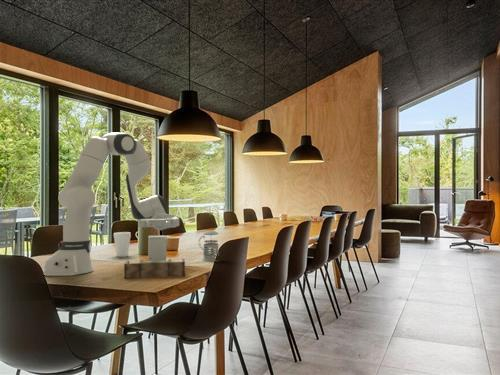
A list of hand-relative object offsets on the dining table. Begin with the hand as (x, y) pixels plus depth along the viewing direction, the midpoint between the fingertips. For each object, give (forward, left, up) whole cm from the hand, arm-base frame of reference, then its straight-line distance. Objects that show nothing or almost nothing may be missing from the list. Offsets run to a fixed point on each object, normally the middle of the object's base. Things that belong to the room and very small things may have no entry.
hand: (158, 223), depth 206 cm
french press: (+26, +17, -21) cm, 37 cm away
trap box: (0, -22, -21) cm, 30 cm away
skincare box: (0, -8, -21) cm, 22 cm away
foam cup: (-22, +40, -21) cm, 50 cm away
